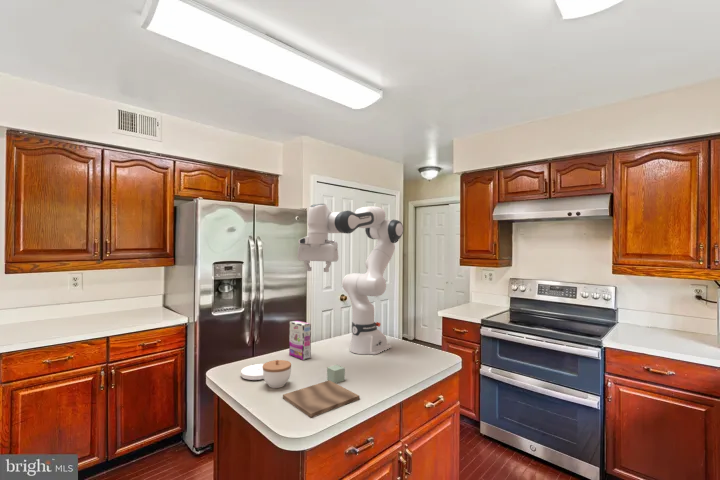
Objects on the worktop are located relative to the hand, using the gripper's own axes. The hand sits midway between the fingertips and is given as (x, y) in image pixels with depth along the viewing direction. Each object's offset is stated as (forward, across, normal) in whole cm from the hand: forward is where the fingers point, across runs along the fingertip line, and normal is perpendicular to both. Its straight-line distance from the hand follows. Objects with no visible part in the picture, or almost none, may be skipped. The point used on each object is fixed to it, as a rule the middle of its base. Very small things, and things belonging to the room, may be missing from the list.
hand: (317, 271), depth 153 cm
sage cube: (+42, -15, +8) cm, 45 cm away
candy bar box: (+42, +16, -7) cm, 46 cm away
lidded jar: (+42, +2, +23) cm, 48 cm away
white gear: (+43, +15, +19) cm, 49 cm away
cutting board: (+42, -20, +24) cm, 52 cm away
